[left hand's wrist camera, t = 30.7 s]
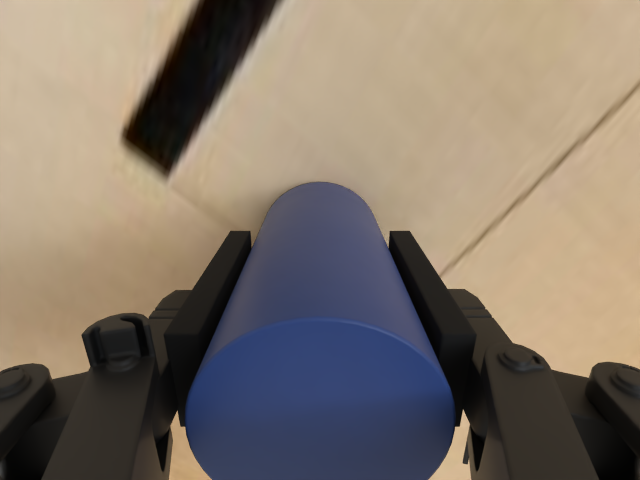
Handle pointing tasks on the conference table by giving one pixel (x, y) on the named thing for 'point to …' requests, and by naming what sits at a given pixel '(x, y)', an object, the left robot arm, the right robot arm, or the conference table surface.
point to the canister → (320, 357)
